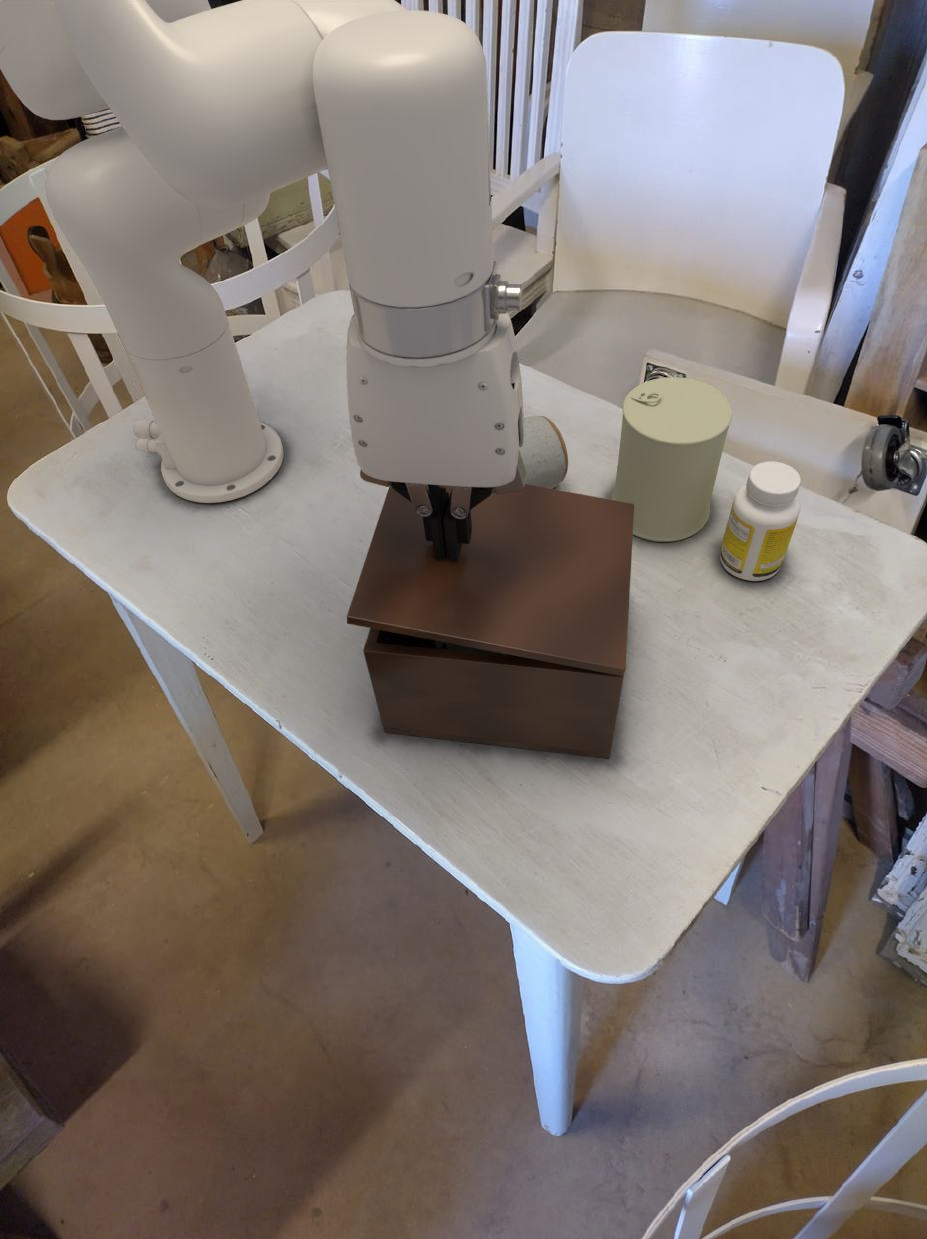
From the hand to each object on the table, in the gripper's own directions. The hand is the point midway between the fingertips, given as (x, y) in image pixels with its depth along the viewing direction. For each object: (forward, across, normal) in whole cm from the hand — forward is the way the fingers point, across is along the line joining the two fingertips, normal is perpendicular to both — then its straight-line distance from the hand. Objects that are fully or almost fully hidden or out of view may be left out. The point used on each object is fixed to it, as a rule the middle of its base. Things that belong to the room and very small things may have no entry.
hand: (450, 545), depth 57 cm
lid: (+2, -4, 0) cm, 4 cm away
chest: (+14, -4, 0) cm, 14 cm away
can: (+14, -16, -20) cm, 29 cm away
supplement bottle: (+14, -24, -14) cm, 31 cm away
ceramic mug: (+14, -1, -22) cm, 26 cm away
